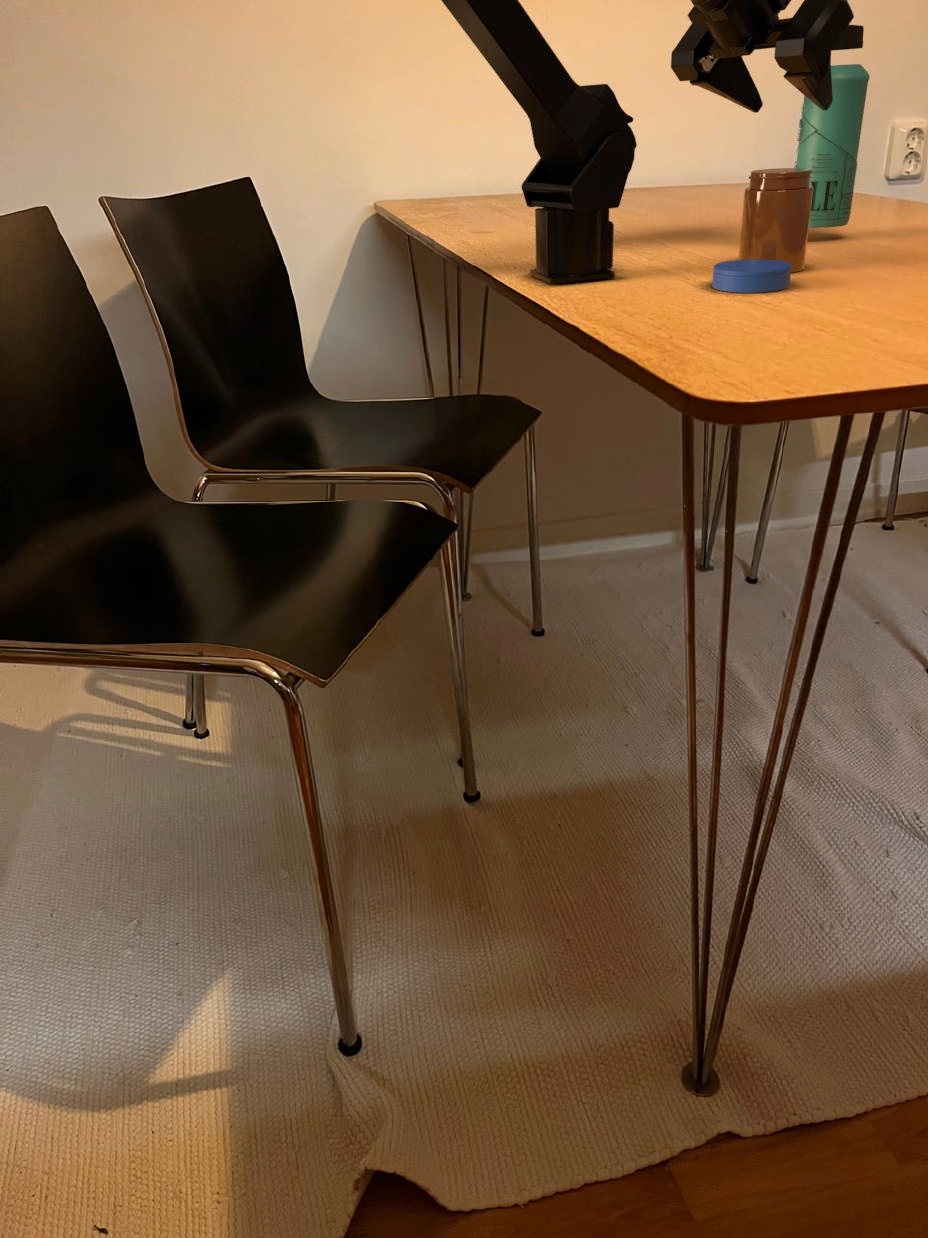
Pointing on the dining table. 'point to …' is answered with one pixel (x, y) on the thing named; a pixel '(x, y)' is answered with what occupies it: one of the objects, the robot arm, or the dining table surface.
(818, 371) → the dining table surface
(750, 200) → the jar
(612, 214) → the dining table surface
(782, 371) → the dining table surface
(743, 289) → the jar lid
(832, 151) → the beverage bottle
